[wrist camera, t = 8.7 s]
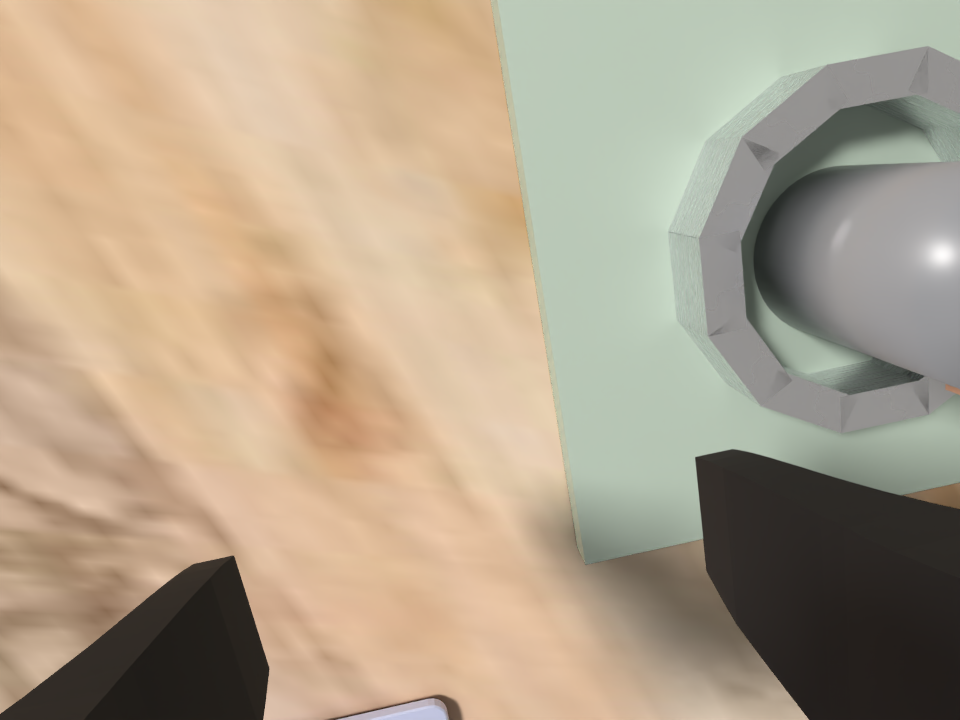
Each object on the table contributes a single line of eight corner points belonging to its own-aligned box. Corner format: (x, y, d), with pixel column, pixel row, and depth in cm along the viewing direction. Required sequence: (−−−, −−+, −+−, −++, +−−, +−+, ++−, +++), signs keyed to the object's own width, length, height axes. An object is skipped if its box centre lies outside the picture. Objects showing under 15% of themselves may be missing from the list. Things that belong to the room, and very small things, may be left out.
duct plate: (1060, 441, 22) (1090, 453, 21) (577, 547, 21) (585, 564, 20) (1091, -123, 18) (1130, -140, 17) (487, -20, 17) (492, -31, 16)
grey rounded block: (908, 150, 18) (1143, 135, 13) (913, 324, 20) (1128, 384, 14) (746, 183, 18) (910, 185, 12) (761, 358, 19) (916, 434, 14)
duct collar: (985, 368, 20) (1046, 389, 18) (688, 431, 20) (719, 459, 18) (993, 37, 18) (1064, 21, 16) (654, 99, 17) (685, 90, 15)
